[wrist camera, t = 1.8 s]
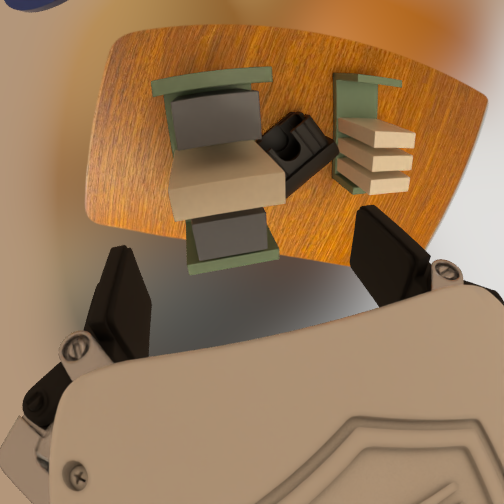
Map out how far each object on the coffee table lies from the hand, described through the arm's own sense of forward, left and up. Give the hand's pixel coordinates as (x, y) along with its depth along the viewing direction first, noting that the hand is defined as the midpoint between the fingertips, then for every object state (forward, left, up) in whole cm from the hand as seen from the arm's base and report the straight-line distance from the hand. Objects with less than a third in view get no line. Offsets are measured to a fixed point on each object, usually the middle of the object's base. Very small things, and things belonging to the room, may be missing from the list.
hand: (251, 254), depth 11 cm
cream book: (0, 0, -14) cm, 14 cm away
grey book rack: (0, 0, -27) cm, 27 cm away
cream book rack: (+1, +21, -27) cm, 34 cm away
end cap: (+4, +10, -28) cm, 30 cm away
